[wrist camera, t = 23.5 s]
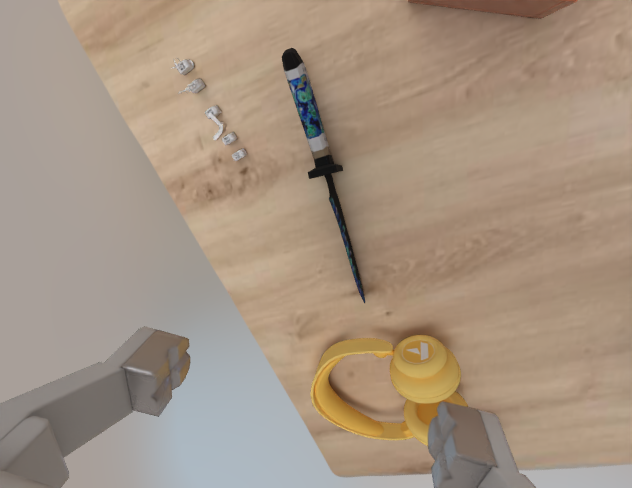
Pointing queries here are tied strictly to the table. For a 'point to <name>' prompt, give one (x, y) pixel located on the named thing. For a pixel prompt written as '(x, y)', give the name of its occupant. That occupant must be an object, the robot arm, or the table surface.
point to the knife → (317, 142)
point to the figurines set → (213, 111)
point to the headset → (408, 379)
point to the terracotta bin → (504, 6)
